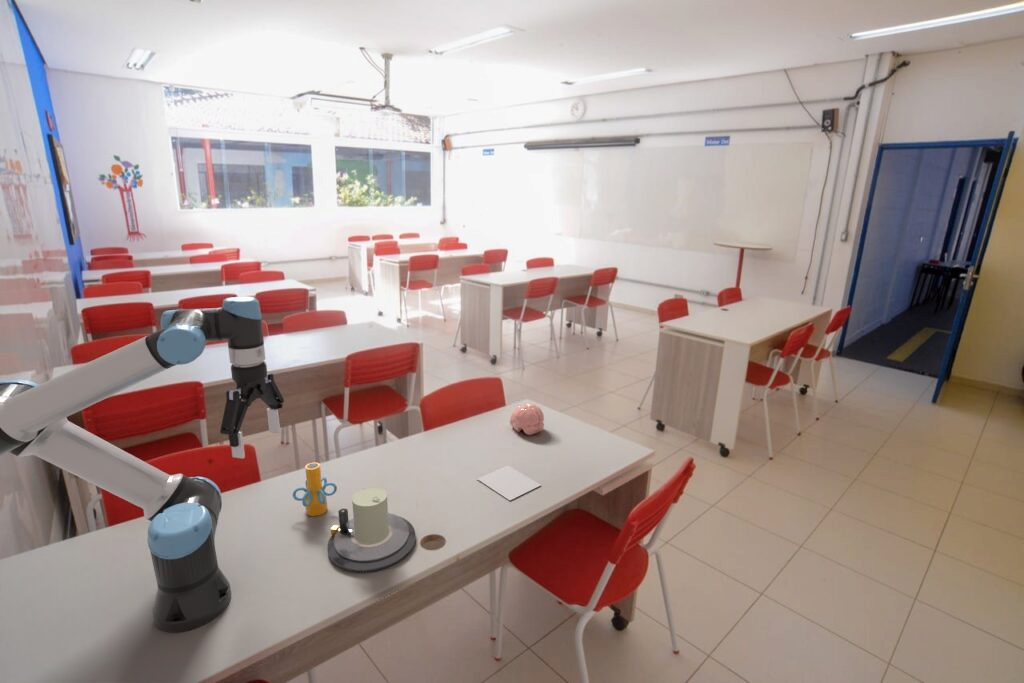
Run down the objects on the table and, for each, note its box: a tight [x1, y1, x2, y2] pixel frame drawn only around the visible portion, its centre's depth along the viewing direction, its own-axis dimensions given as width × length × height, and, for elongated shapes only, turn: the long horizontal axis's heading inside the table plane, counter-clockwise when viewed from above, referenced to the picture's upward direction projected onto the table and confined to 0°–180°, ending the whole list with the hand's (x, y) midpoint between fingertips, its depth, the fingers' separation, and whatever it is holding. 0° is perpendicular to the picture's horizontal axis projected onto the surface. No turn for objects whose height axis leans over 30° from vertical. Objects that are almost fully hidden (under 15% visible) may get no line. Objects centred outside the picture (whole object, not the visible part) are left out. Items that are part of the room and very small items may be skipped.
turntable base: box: [327, 516, 416, 574], centre depth 139 cm, size 23×23×4 cm
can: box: [351, 486, 389, 545], centre depth 137 cm, size 9×9×12 cm
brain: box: [509, 403, 545, 436], centre depth 209 cm, size 16×13×12 cm
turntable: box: [334, 508, 409, 563], centre depth 138 cm, size 20×20×7 cm
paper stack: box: [476, 465, 541, 501], centre depth 171 cm, size 23×25×1 cm
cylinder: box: [292, 462, 338, 517], centre depth 152 cm, size 12×10×15 cm
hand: (257, 444), depth 127 cm, fingers open, 13 cm apart
